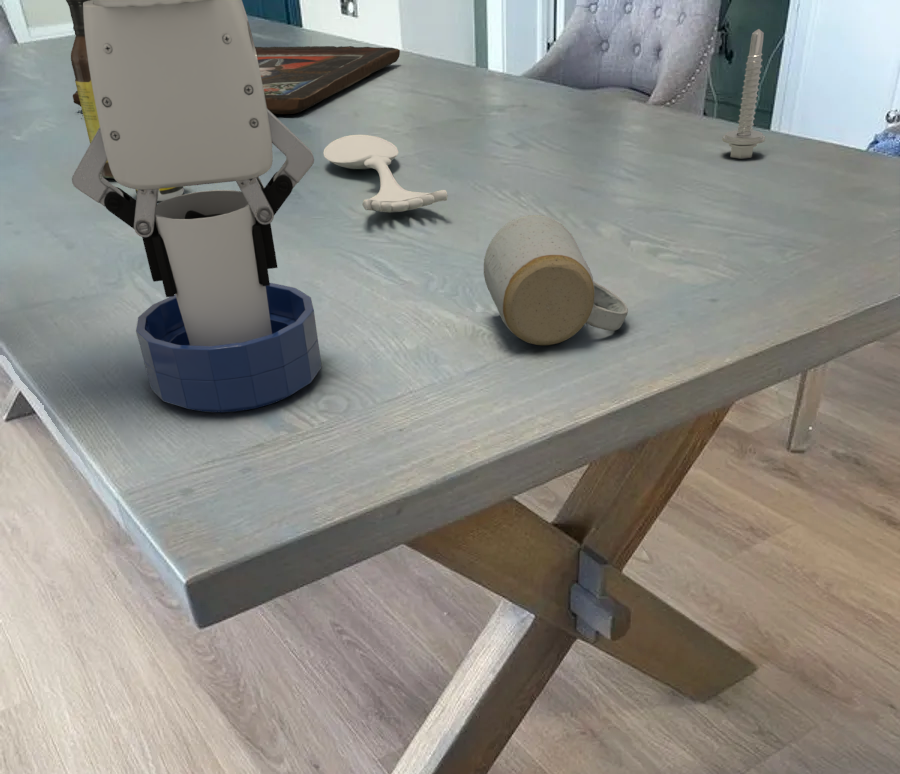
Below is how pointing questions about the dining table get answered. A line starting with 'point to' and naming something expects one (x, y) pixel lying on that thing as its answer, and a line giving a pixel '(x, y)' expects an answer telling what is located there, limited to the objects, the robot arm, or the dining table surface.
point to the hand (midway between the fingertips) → (218, 282)
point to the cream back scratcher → (378, 156)
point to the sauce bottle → (84, 75)
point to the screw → (748, 104)
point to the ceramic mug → (546, 283)
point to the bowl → (231, 357)
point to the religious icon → (312, 73)
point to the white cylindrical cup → (214, 266)
